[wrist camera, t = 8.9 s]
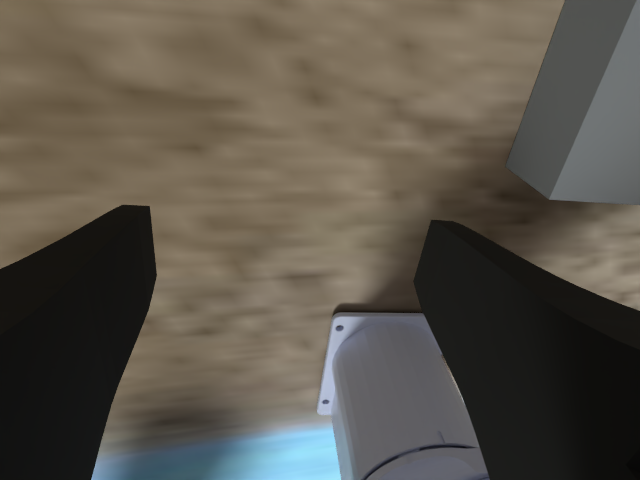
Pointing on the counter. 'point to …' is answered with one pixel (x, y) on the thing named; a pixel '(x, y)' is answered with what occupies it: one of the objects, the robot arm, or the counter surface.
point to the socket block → (585, 108)
